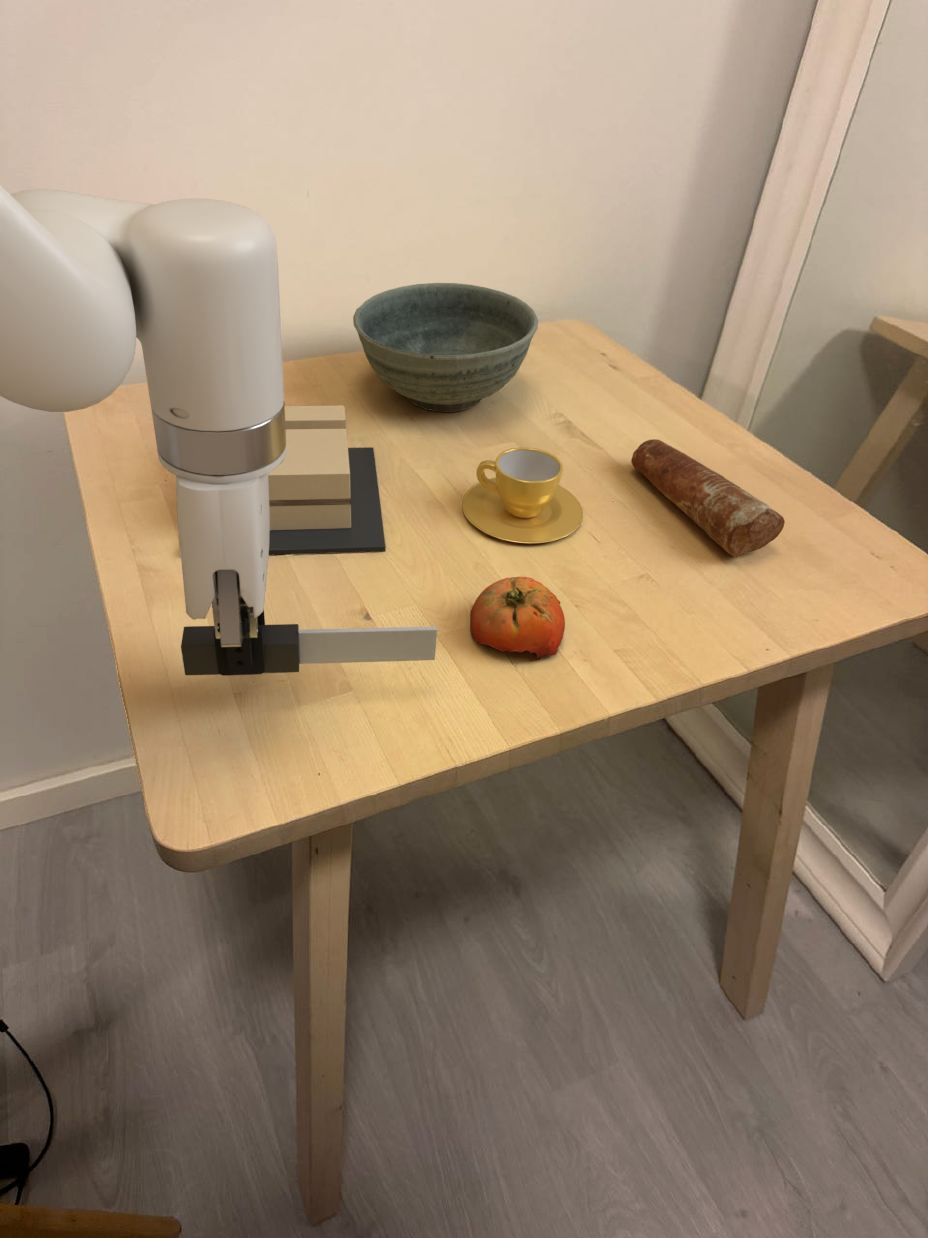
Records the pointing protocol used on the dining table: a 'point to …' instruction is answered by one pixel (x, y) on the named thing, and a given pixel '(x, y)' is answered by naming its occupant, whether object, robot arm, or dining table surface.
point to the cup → (522, 498)
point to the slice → (315, 417)
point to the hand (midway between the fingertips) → (242, 656)
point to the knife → (314, 646)
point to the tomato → (518, 617)
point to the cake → (324, 496)
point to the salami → (709, 498)
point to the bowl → (445, 341)
